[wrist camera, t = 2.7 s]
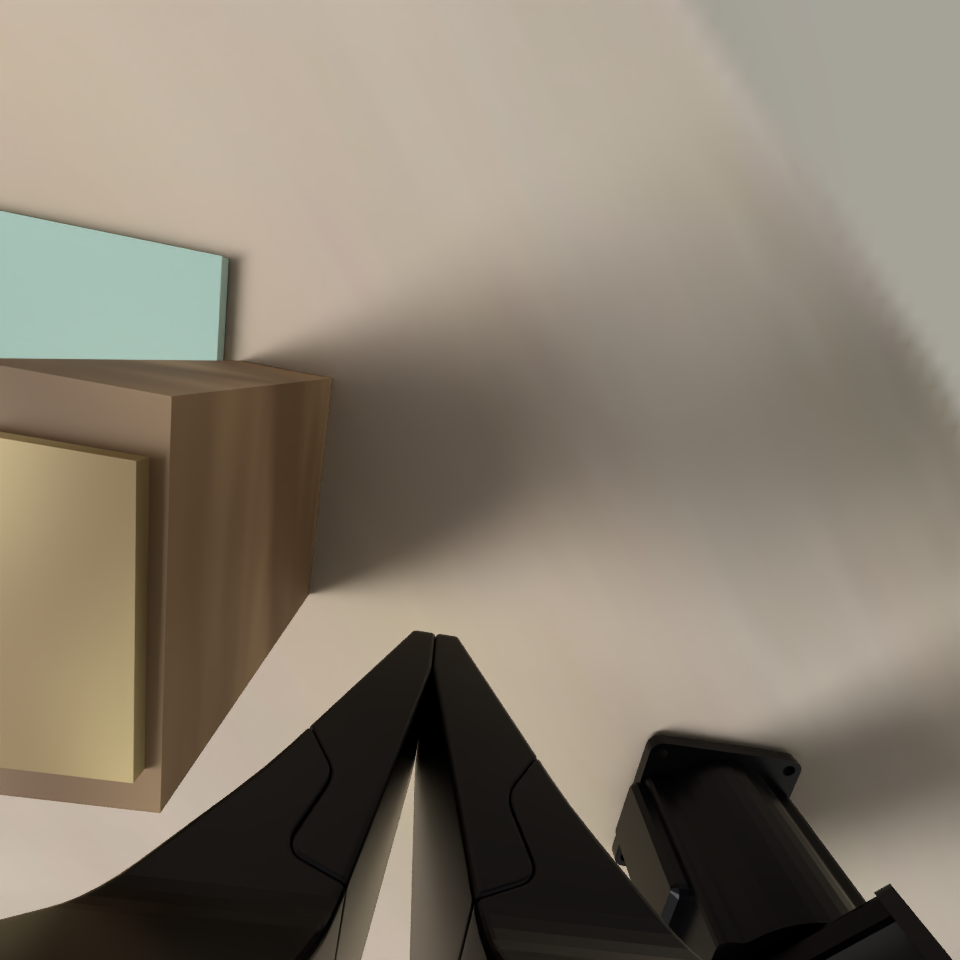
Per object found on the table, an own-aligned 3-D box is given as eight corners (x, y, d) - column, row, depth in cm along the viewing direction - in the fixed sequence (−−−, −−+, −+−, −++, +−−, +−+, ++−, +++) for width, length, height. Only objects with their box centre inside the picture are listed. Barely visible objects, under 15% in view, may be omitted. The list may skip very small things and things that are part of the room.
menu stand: (332, 378, 15) (158, 397, 7) (308, 594, 17) (149, 828, 8) (235, 359, 15) (-77, 355, 6) (222, 580, 17) (-32, 807, 8)
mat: (228, 258, 14) (221, 256, 14) (207, 651, 18) (202, 657, 17) (-84, 195, 14) (-99, 190, 13) (-44, 615, 17) (-56, 621, 16)
